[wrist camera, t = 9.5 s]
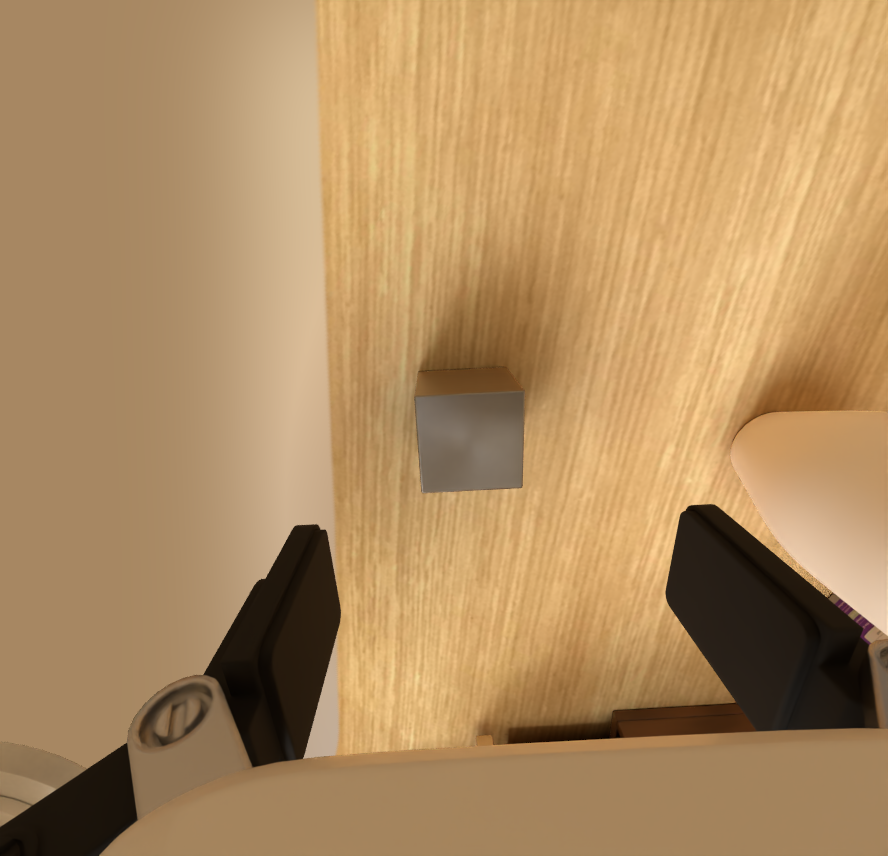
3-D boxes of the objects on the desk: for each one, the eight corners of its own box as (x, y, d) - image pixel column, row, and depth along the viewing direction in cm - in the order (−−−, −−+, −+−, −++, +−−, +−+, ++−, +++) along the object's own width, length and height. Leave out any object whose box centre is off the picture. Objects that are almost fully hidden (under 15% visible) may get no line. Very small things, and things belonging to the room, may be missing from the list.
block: (505, 447, 24) (522, 488, 19) (423, 452, 24) (421, 493, 19) (506, 366, 22) (525, 390, 18) (417, 370, 22) (414, 396, 18)
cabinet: (598, 806, 37) (652, 980, 28) (612, 710, 32) (682, 880, 23) (759, 797, 37) (865, 966, 28) (796, 699, 32) (937, 864, 23)
